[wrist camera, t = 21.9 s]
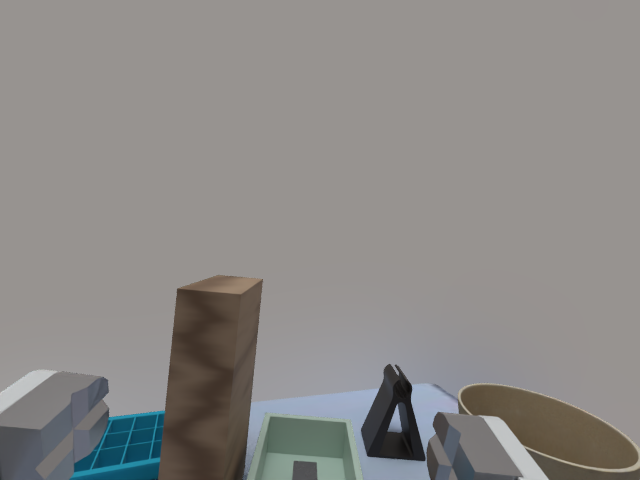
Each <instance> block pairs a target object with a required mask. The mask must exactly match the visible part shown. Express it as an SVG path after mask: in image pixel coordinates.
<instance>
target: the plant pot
mask: <svg viewBox="0 0 640 480" xmlns="http://www.w3.org/2000/svg"><path fill="white" fill-rule="evenodd" d="M458 408H459V414H465V415H475V416H477V415H481V416H493V417H499V418H500V419H501V420H503V421H504V422H505V423H506V425H507V426H508V427H509V429H510V430H511V431H512V432H513V434H514V435H515V436H516V438H517V439H518V440H519V442H520V443H521V444H522V445H523V447H524V448H525V449H526V451H527V452H528V453H529V454H530V456H531V457H532V458H533V460H534V461H535V462H536V463H537V465H538V466H539V467H540V469H541V470H542V471H543V473H544V474H545V475H546V476H547V478H548V479H549V480H640V448H639V447H638V446H637V445H636V444H635V443H634V442H633V441H632V440H631V439H630V438H629V437H628V436H627V435H625V434H624V433H622V432H621V431H620V430H618V429H617V428H615V427H614V426H612V425H611V424H609V423H607V422H605V421H604V420H602V419H600V418H599V417H597V416H595V415H593V414H591V413H589V412H587V411H585V410H583V409H580V408H578V407H576V406H573V405H571V404H568V403H566V402H564V401H561V400H558V399H555V398H553V397H550V396H547V395H544V394H540V393H537V392H533V391H530V390H526V389H521V388H517V387H512V386H506V385H500V384H490V383H480V384H471V385H468V386H465V387H463V388H462V389H461V390H460V391H459V393H458Z"/></svg>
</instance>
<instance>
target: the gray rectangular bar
mask: <svg viewBox="0 0 640 480" xmlns="http://www.w3.org/2000/svg"><path fill="white" fill-rule="evenodd" d="M292 480H318V479H317V462H306V461H294V462H293V473H292Z"/></svg>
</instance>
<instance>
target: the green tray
mask: <svg viewBox="0 0 640 480" xmlns="http://www.w3.org/2000/svg"><path fill="white" fill-rule="evenodd" d="M294 461H306V462H317V479H318V480H363V476H362V471H361V466H360V461H359V457H358V452H357V447H356V442H355V438H354V433H353V428H352V423H351V420H349V419H336V418H324V417H312V416H300V415H288V414H276V413H265V417H264V420H263V424H262V427H261V431H260V434H259V438H258V441H257V445H256V448H255V452H254V456H253V459H252V463H251V466H250V470H249V473H248V477H247V480H292V473H293V462H294Z"/></svg>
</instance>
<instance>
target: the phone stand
mask: <svg viewBox="0 0 640 480" xmlns="http://www.w3.org/2000/svg"><path fill="white" fill-rule="evenodd" d="M395 367H396V368H397V370H398V371H399V376H398V375H397V374H396V372H395V370H394V369H393V367H392V366H391V365H390V364H389V365H387V366H386V367H385V369H384V379H383V383H382V385H381V387H380V389H379V392H378V394H377V396H376V398H375V400H374V402H373V405H372V407H371V409H370V411H369V413H368V415H367V418H366V420H365V422H364V424H363V426H362V428H361V432H362V436H363V440H364V444H365V448H366V452H367V455H368V456H369V457H379V458H392V459H395V458H397V459H404V460H416V461H425V459H426V458H425V454H424V450H423V446H422V443H421V439H420V435H419V431H418V427H417V423H416V419H415V415H414V412H413V408H412V404H411V393H412V386H411V384H410V382H409V381H408V379H407V378H406V376H405V375H404V374H403V372H402V371H401V369H400V368H399V366H397V365H395ZM397 404H398V409H399V415H400V421H401V427H402V432H401V433H397V432H387V430H388V428H389V425H390V422H391V419H392V416H393V414H394V411H395V408H396V405H397Z"/></svg>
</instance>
